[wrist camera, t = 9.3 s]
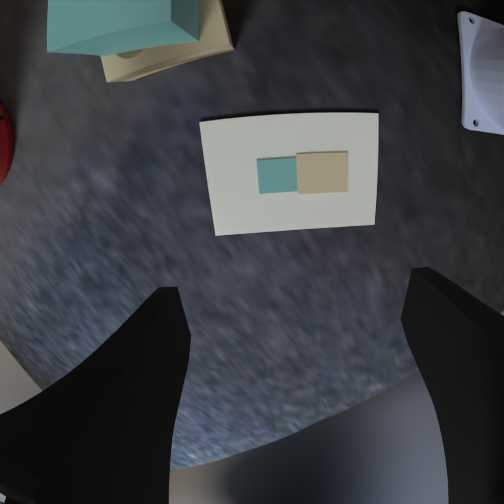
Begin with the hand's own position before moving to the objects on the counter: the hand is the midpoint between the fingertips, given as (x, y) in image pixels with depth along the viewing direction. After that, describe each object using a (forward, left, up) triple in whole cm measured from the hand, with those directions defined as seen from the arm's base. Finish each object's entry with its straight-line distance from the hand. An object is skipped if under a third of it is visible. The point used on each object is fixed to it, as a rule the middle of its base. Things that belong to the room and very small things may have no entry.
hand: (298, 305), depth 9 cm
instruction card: (-1, -1, -10) cm, 10 cm away
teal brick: (+5, -11, -7) cm, 14 cm away
